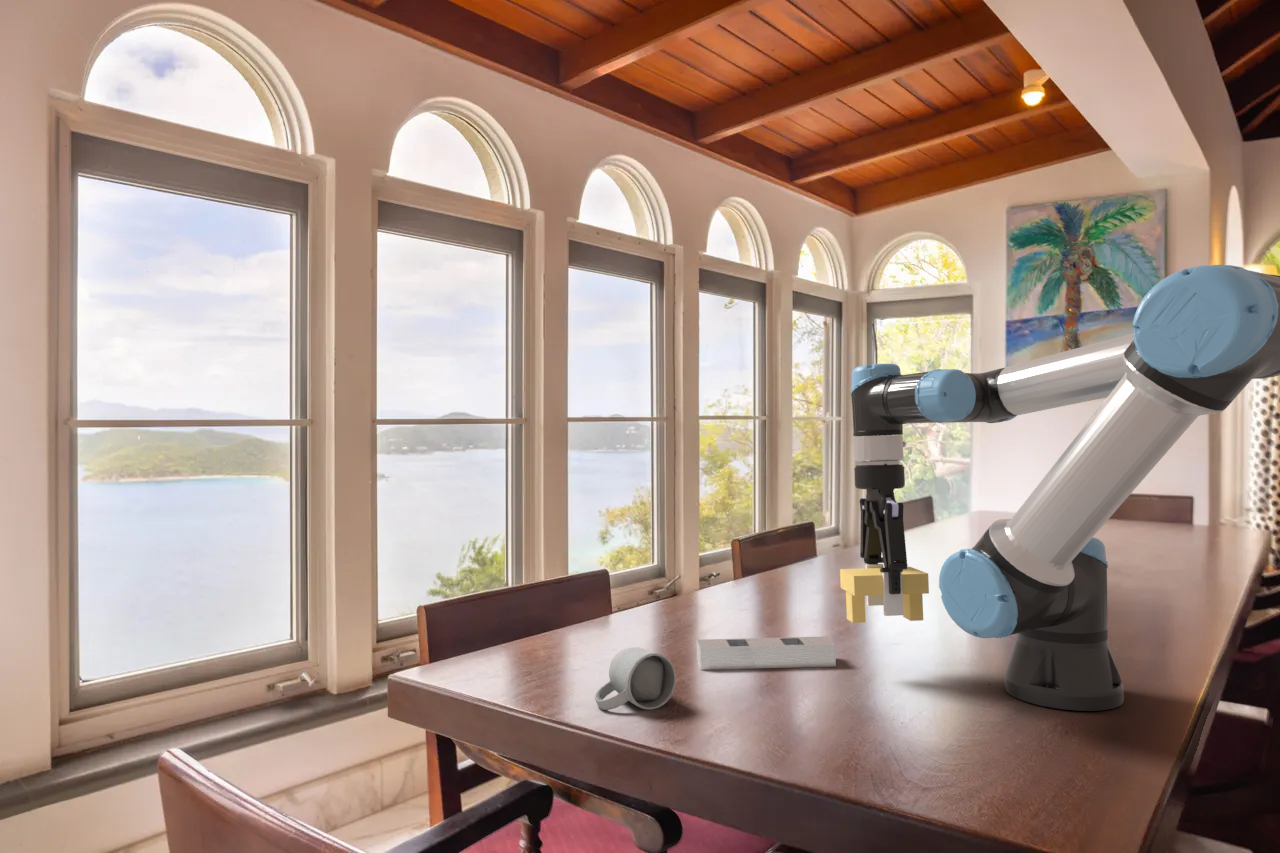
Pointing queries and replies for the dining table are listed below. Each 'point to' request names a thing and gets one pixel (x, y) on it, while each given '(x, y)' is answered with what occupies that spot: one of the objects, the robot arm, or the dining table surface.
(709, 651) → the rail
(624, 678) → the ceramic mug
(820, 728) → the dining table surface
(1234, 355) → the robot arm
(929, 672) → the dining table surface
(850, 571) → the yellow bridge
